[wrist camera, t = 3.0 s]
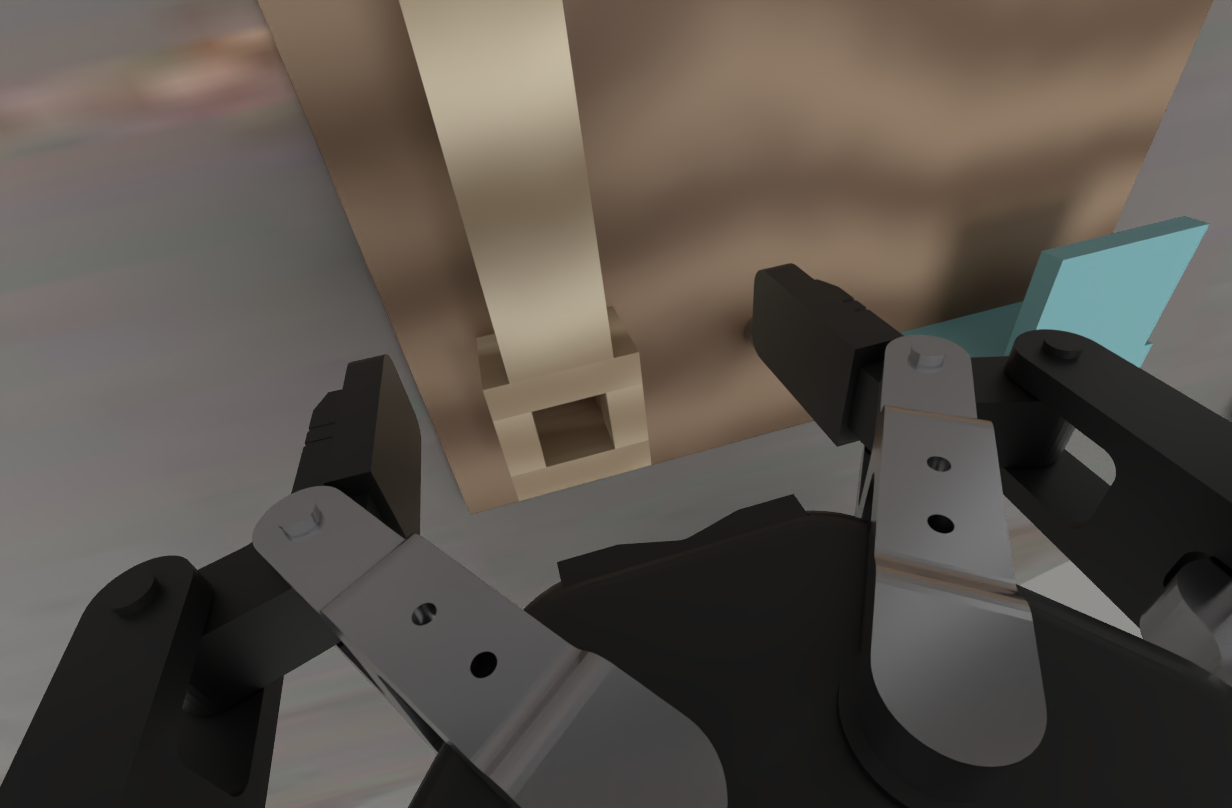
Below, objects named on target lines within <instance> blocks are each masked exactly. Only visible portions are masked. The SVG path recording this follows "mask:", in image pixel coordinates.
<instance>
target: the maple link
mask: <svg viewBox="0 0 1232 808" xmlns="http://www.w3.org/2000/svg"><path fill="white" fill-rule="evenodd" d="M399 2H400V6H401V9H402V13H403V16H404V20H405V23H406V27H407V30H408V34H409V37H410V41H411V44H412V47H413V51H414V54H415V58H416V61H417V65H418V68H419V72H420V75H421V79H422V82H423V86H424V89H425V93H426V96H427V99H428V103H429V106H430V110H431V113H432V117H433V120H434V124H435V127H436V131H437V134H438V138H439V141H440V144H441V148H442V151H443V155H444V158H445V162H446V165H447V169H448V172H449V176H450V179H451V183H452V186H453V190H454V193H455V196H456V200H457V203H458V207H459V210H460V214H461V217H462V221H463V224H464V228H465V231H466V235H467V238H468V241H469V245H470V248H471V252H472V255H473V259H474V262H475V266H476V269H477V273H478V276H479V280H480V283H481V286H482V290H483V293H484V297H485V300H486V304H487V307H488V311H489V314H490V318H491V321H492V325H493V328H494V332H495V334H491V335H487V336H483V337H478V338H476V341H477V349H478V357H479V365H480V373H481V381H482V389H483V393H484V396H485V399H486V402H487V405H488V408H489V411H490V414H491V417H492V420H493V423H494V426H495V429H496V432H497V435H498V438H499V442H500V445H501V448H502V451H503V454H504V457H505V460H506V463H507V466H508V469H509V472H510V475H511V478H512V481H513V484H514V487H515V490H516V493H517V496H518V500H519V501H522V500H526V499H529V498H533V497H536V496H540V495H544V494H547V493H551V492H555V491H558V490H562V489H566V488H569V487H573V486H577V485H580V484H584V483H588V482H591V481H595V480H599V479H602V478H606V477H610V476H613V475H617V474H621V473H624V472H628V471H631V470H635V469H639V468H642V467H646V466H650V465H651V456H650V447H649V438H648V429H647V420H646V411H645V402H644V393H643V384H642V375H641V366H640V357H639V351H638V349H637V348H636V346H635V344H634V342H633V341H632V339H631V337H630V335H629V334H628V332H627V330H626V328H625V327H624V325H623V323H622V321H621V320H620V318H619V316H618V314H617V313H616V311H615V309H614V307H613V306H611V307H607V308H606V301H605V294H604V287H603V280H602V273H601V266H600V259H599V252H598V245H597V238H596V231H595V224H594V217H593V210H592V204H591V197H590V190H589V183H588V176H587V169H586V162H585V155H584V148H583V141H582V134H581V127H580V120H579V113H578V106H577V99H576V92H575V85H574V78H573V71H572V64H571V58H570V51H569V44H568V37H567V30H566V23H565V16H564V9H563V2H562V0H399ZM592 396H593V397H592ZM588 397H589V398H588ZM584 398H585V399H584ZM580 399H581V400H580ZM576 400H577V401H576ZM572 401H573V402H572ZM569 402H570V403H569ZM565 403H566V404H565ZM561 404H562V405H561ZM557 405H558V406H557ZM553 406H554V407H553ZM549 407H550V408H549ZM545 408H546V409H545ZM541 409H542V410H541ZM537 410H538V411H537ZM533 411H534V412H533Z"/></svg>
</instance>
